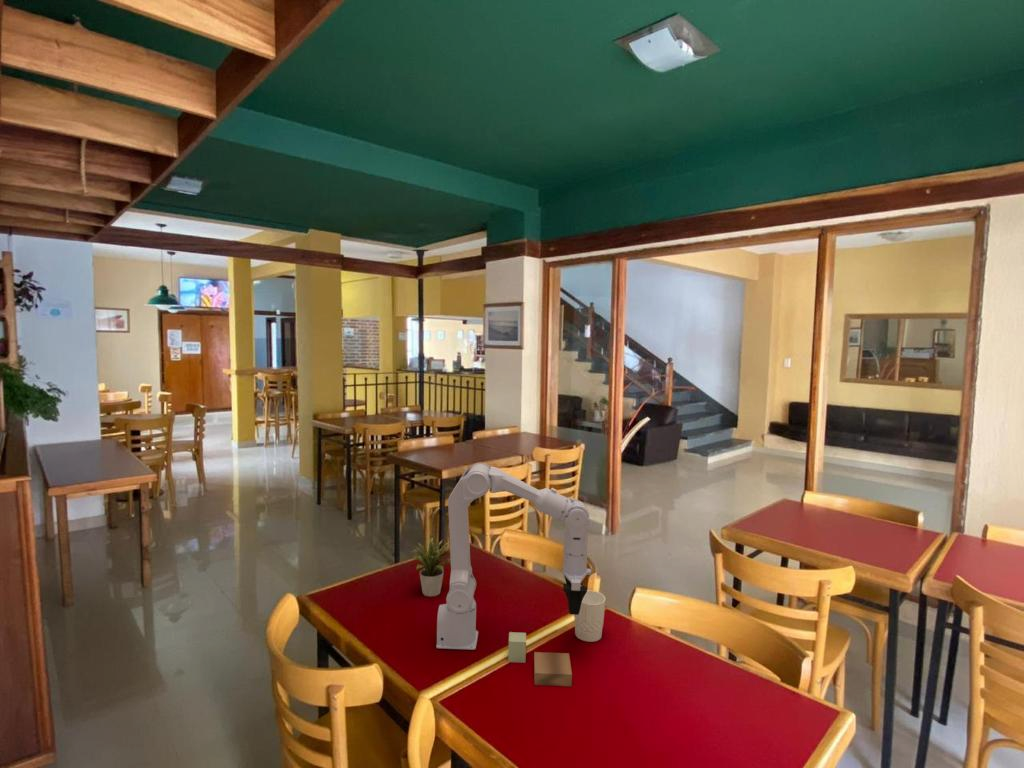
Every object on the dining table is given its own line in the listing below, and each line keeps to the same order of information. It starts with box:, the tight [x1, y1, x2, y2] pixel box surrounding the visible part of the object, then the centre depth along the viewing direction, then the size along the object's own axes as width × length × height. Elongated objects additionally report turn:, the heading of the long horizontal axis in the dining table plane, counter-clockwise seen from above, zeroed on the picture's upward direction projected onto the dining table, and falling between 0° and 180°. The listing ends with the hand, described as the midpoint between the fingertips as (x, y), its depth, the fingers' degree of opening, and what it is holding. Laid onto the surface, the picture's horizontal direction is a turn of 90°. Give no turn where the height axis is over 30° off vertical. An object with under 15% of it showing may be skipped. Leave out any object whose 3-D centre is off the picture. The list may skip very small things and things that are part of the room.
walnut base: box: [533, 651, 573, 687], centre depth 119 cm, size 8×8×3 cm
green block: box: [507, 631, 527, 664], centre depth 125 cm, size 4×4×5 cm
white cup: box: [573, 589, 606, 643], centre depth 135 cm, size 8×8×10 cm
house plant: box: [412, 536, 451, 597], centre depth 155 cm, size 14×14×16 cm
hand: (573, 606), depth 130 cm, fingers open, 7 cm apart
